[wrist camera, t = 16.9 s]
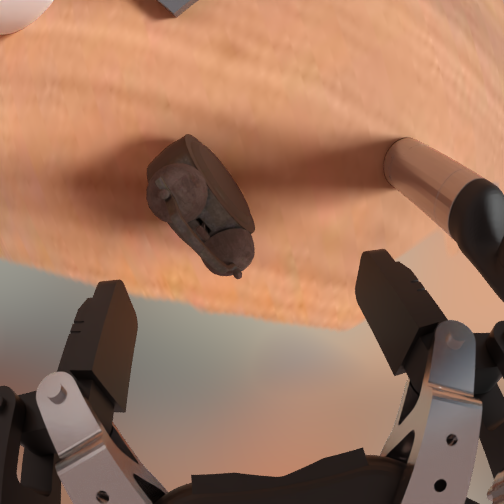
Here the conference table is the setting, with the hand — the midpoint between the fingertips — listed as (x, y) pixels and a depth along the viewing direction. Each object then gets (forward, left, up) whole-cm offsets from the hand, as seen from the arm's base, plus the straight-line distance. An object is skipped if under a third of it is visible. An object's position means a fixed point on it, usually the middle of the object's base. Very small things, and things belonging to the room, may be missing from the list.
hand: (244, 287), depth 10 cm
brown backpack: (+3, +8, -34) cm, 35 cm away
